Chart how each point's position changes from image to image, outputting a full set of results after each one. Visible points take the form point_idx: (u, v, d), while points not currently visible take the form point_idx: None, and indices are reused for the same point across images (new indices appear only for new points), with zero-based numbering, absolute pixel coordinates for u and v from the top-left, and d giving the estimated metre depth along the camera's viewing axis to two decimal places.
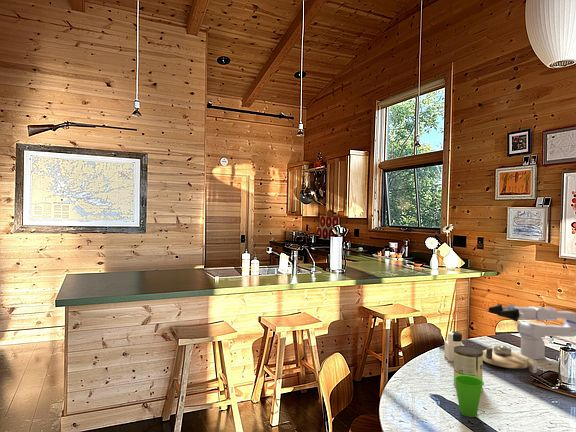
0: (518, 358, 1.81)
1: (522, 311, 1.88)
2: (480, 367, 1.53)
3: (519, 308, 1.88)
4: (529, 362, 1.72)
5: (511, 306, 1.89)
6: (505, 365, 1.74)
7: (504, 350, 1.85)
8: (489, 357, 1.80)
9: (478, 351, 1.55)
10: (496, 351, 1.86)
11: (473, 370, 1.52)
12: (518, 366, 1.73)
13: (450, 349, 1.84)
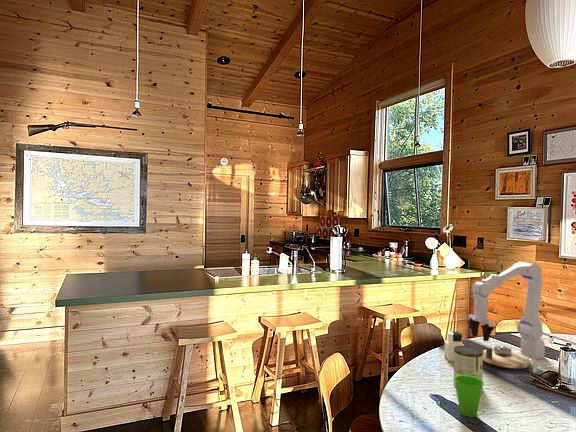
0: (518, 358, 1.81)
1: (482, 312, 1.85)
2: (480, 367, 1.53)
3: (478, 314, 1.85)
4: (529, 362, 1.72)
5: None
6: (505, 365, 1.74)
7: (504, 350, 1.85)
8: (489, 357, 1.80)
9: (478, 351, 1.55)
10: (496, 351, 1.86)
11: (473, 370, 1.52)
12: (518, 366, 1.73)
13: (450, 349, 1.84)
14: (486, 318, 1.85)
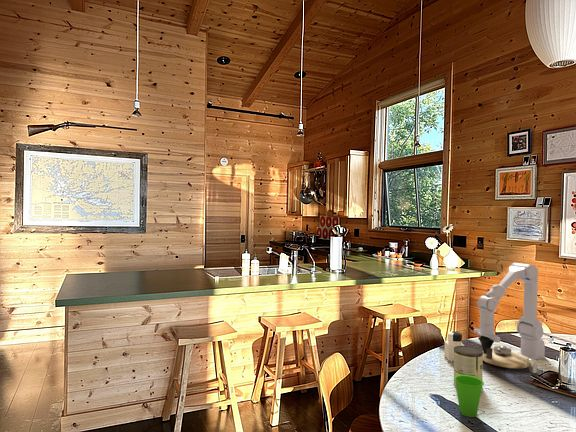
0: (518, 358, 1.81)
1: (488, 327, 1.81)
2: (480, 367, 1.53)
3: (484, 329, 1.81)
4: (529, 362, 1.72)
5: None
6: (505, 365, 1.74)
7: (504, 350, 1.85)
8: (489, 357, 1.80)
9: (478, 351, 1.55)
10: (496, 351, 1.86)
11: (473, 370, 1.52)
12: (518, 366, 1.73)
13: (450, 349, 1.84)
14: (492, 333, 1.81)
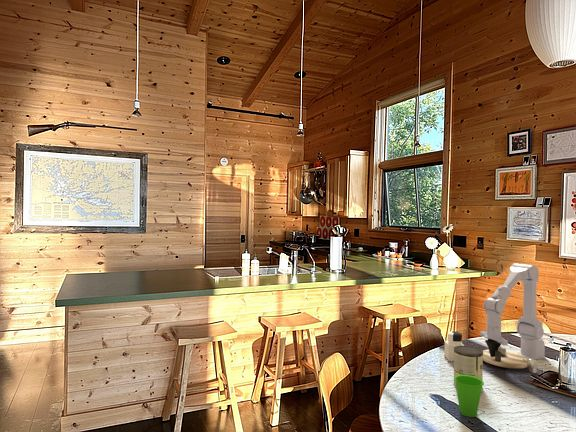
0: (515, 355, 1.84)
1: (495, 330, 1.77)
2: (480, 367, 1.53)
3: (491, 331, 1.77)
4: (529, 362, 1.72)
5: None
6: (518, 366, 1.73)
7: (501, 350, 1.85)
8: (499, 360, 1.76)
9: (478, 351, 1.55)
10: None
11: (473, 370, 1.52)
12: (527, 365, 1.74)
13: (450, 349, 1.84)
14: (499, 336, 1.77)
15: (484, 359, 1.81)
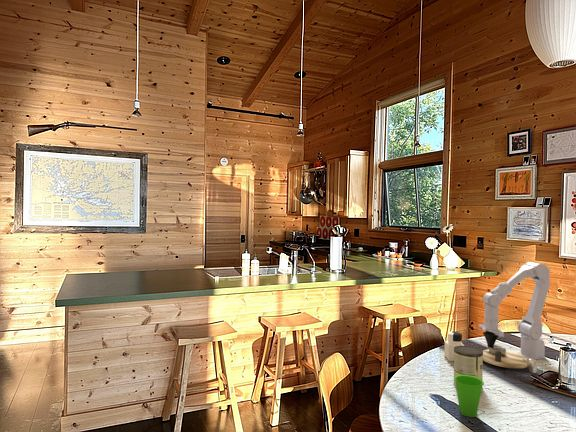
0: (515, 355, 1.84)
1: (492, 323, 1.89)
2: (480, 367, 1.53)
3: (489, 324, 1.89)
4: (529, 362, 1.72)
5: None
6: (519, 366, 1.73)
7: (501, 350, 1.85)
8: (499, 360, 1.76)
9: (478, 351, 1.55)
10: None
11: (473, 370, 1.52)
12: (527, 365, 1.75)
13: (450, 349, 1.84)
14: (496, 328, 1.89)
15: (484, 359, 1.81)
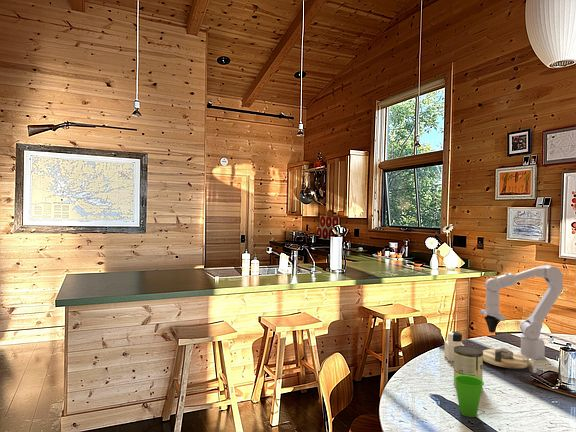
0: (515, 355, 1.84)
1: (494, 307, 1.94)
2: (480, 367, 1.53)
3: (490, 308, 1.94)
4: (529, 362, 1.72)
5: (487, 314, 1.96)
6: (519, 366, 1.73)
7: (509, 353, 1.81)
8: (500, 360, 1.76)
9: (478, 351, 1.55)
10: (502, 355, 1.80)
11: (473, 370, 1.52)
12: None
13: (450, 349, 1.84)
14: (497, 313, 1.94)
15: (484, 359, 1.81)
